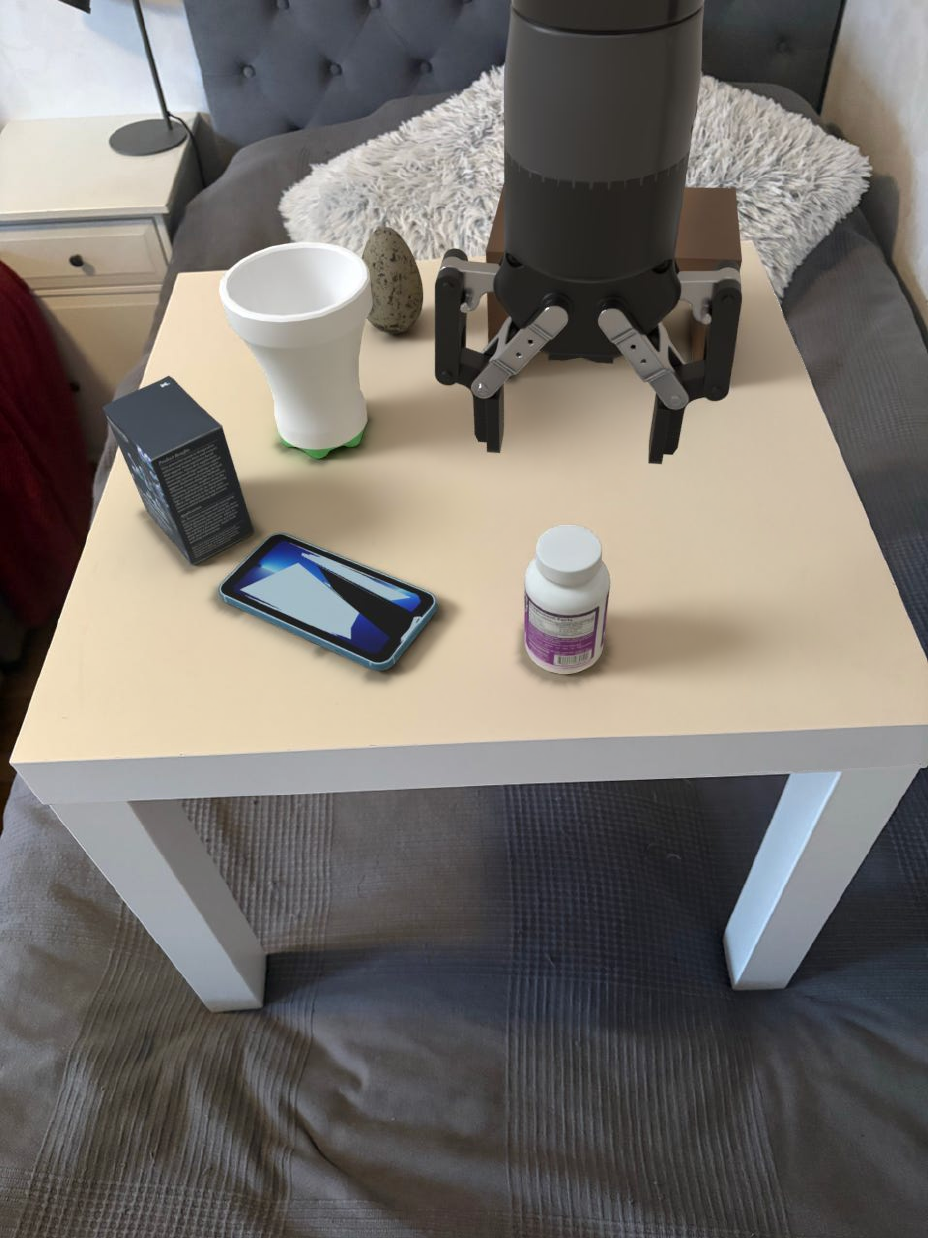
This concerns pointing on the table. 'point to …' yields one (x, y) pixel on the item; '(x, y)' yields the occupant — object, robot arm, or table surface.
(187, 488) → the box
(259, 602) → the smartphone
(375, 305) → the decorative egg
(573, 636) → the pill bottle
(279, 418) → the cup
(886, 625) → the table surface
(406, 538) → the table surface
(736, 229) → the desk shelf
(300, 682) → the table surface
